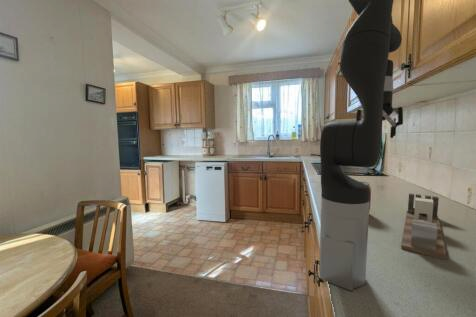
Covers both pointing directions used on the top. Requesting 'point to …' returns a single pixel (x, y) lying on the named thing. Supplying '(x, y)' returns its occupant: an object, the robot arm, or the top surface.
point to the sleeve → (423, 208)
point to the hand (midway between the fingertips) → (377, 137)
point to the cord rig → (423, 231)
